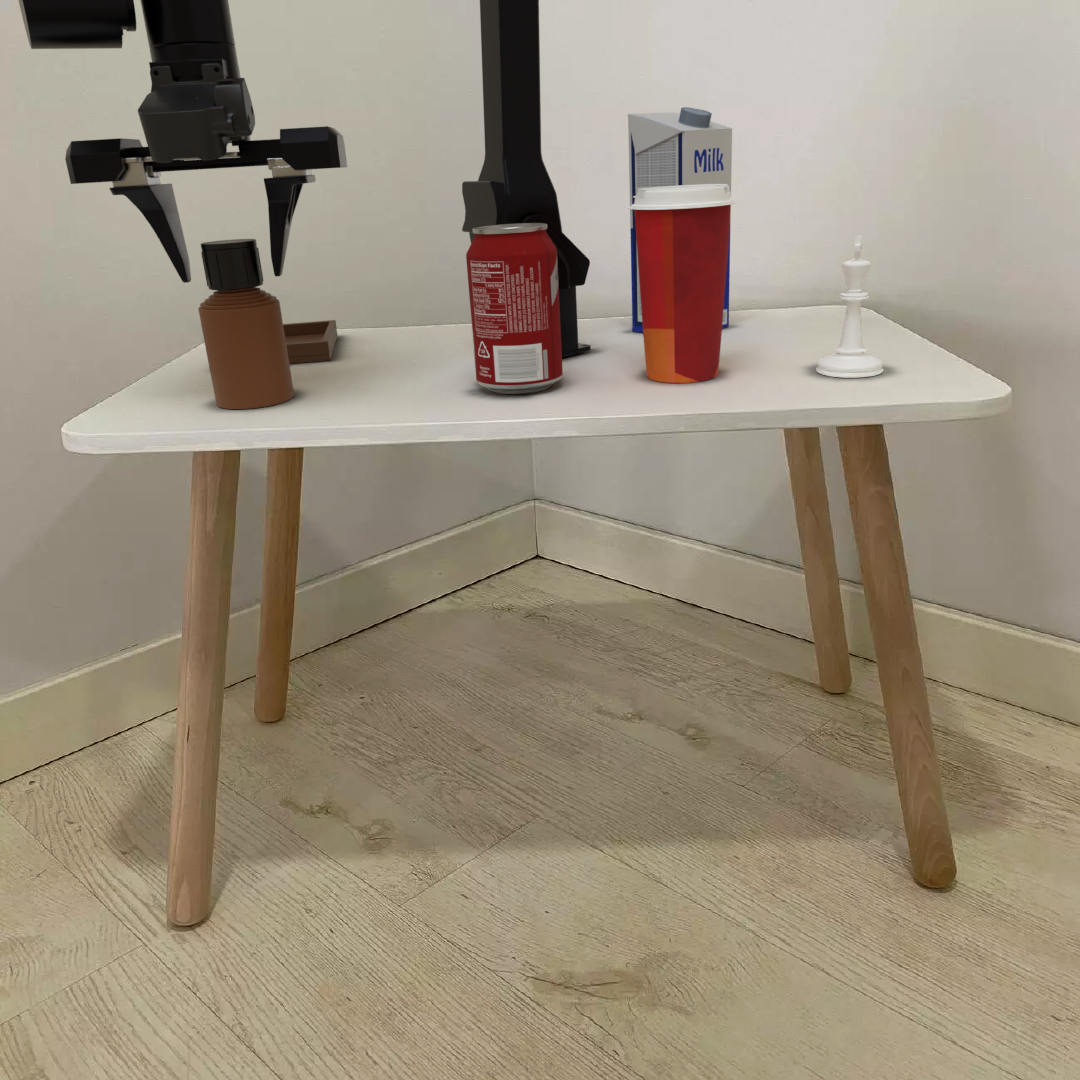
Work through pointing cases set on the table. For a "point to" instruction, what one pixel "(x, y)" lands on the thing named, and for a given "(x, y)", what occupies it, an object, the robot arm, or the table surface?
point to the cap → (232, 264)
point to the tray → (310, 341)
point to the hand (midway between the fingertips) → (232, 278)
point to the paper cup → (682, 278)
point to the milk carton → (675, 169)
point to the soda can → (515, 308)
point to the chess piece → (852, 327)
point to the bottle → (246, 348)
